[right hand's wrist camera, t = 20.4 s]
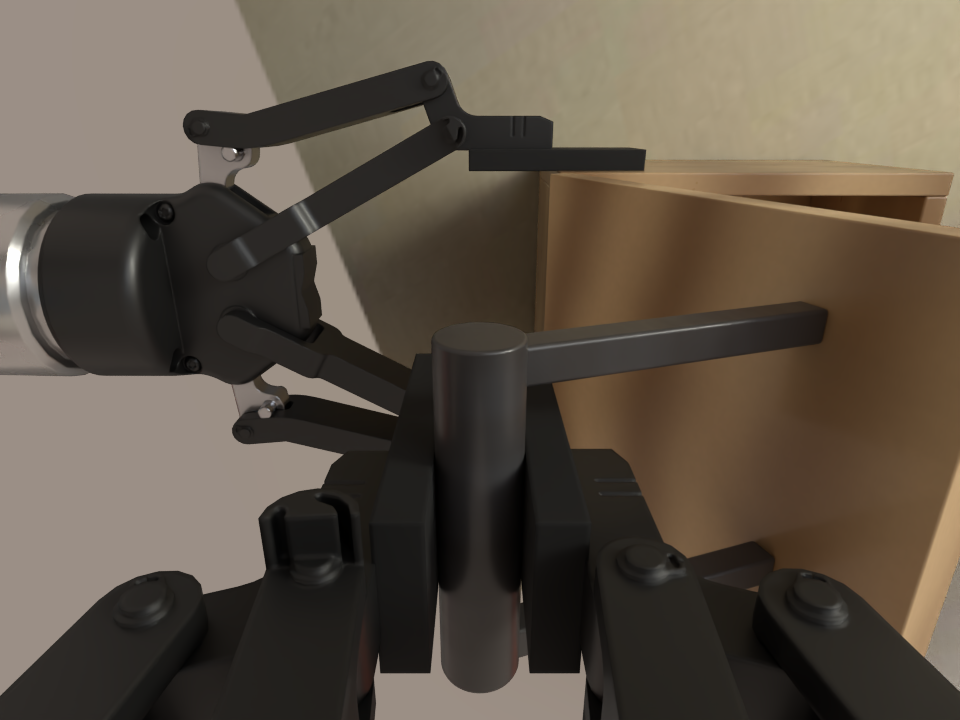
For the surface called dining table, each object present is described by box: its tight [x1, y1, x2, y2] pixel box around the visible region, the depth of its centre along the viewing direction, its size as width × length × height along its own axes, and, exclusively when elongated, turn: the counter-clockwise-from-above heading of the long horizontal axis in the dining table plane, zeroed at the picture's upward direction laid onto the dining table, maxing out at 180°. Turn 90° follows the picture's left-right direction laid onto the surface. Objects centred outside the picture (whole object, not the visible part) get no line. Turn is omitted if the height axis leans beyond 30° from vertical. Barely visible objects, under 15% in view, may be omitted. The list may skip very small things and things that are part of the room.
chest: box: [534, 160, 954, 332], centre depth 27 cm, size 14×10×9 cm
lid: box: [431, 173, 960, 693], centre depth 15 cm, size 15×10×8 cm
